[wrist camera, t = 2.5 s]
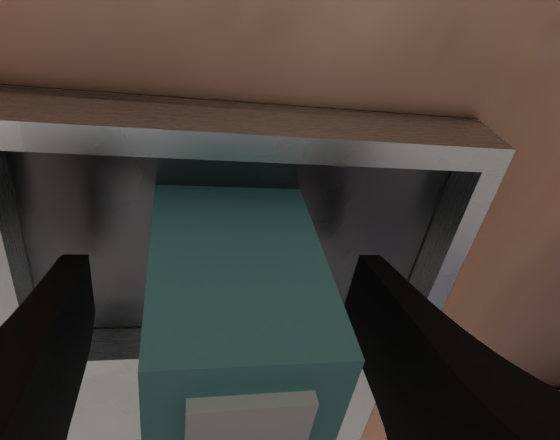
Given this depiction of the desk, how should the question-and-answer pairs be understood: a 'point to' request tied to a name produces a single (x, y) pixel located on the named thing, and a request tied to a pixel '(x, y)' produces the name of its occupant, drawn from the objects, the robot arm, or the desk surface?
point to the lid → (126, 413)
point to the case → (229, 173)
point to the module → (241, 321)
